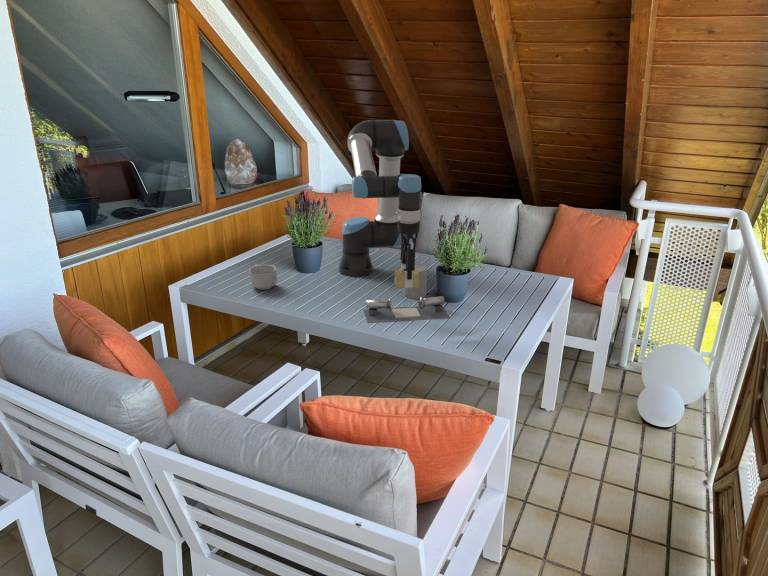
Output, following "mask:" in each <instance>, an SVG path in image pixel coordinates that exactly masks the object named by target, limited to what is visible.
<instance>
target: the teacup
mask: <svg viewBox="0 0 768 576" xmlns="http://www.w3.org/2000/svg"><path fill="white" fill-rule="evenodd" d="M248 273H249V277H250V283H251V285H252V287H254V288H255V289H257V290H262V291H263V290H265V291H266V290H269V289H272V288H273V287H274V286H275V285H276V284H277V282H278V280H277V279H278V276H277V267H276V266H275V265H273V264H254V265H253V266H252V267H251V268H249V270H248Z"/></svg>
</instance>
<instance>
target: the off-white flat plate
mask: <svg viewBox="0 0 768 576" xmlns="http://www.w3.org/2000/svg"><path fill="white" fill-rule="evenodd" d="M392 311H393V313H394V315H395V318H411V317H420V314H419V312H418V310H417V308H401V309H392Z"/></svg>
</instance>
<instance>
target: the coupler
mask: <svg viewBox="0 0 768 576" xmlns="http://www.w3.org/2000/svg"><path fill="white" fill-rule="evenodd" d="M393 274H394V277H393V278H394V279H393V283H394V286H395V289H403V288H405V287H404V285H405V271H404V270H402V269H394V273H393ZM412 288H419V273H418V271H417V269H416V270H414V271H413V284H412Z"/></svg>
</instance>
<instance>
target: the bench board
mask: <svg viewBox="0 0 768 576" xmlns="http://www.w3.org/2000/svg"><path fill="white" fill-rule="evenodd" d="M401 308H417V310H418V312H419V314H420V317H411V318H395V315H394V313H393V311H392V309H401ZM363 313H364V317H365V319H366V323H367V324H377V323H391V322H392V323H394V322H397V323H398V322H412V321H427V320H428V321H429V320H439V319H440V320H445V319H451V316H450V315H449V313H448V312H447V310H446V309H445V307H443V310H442V312H434V311H433V310H432V309H431V308H430V306H426V307H424V308H423V309H420V308H419V305H418V306H402V307H401V306H400V307H391V311H389V309H377V316H369V308H364V309H363Z"/></svg>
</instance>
